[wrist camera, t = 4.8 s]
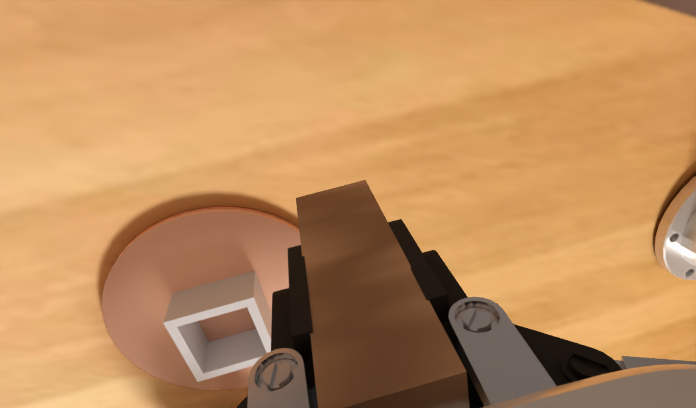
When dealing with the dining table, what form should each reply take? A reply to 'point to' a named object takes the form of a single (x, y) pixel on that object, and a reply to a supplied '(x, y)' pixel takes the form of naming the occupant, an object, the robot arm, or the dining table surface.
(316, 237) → the wooden square post
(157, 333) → the clip base
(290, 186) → the dining table surface
